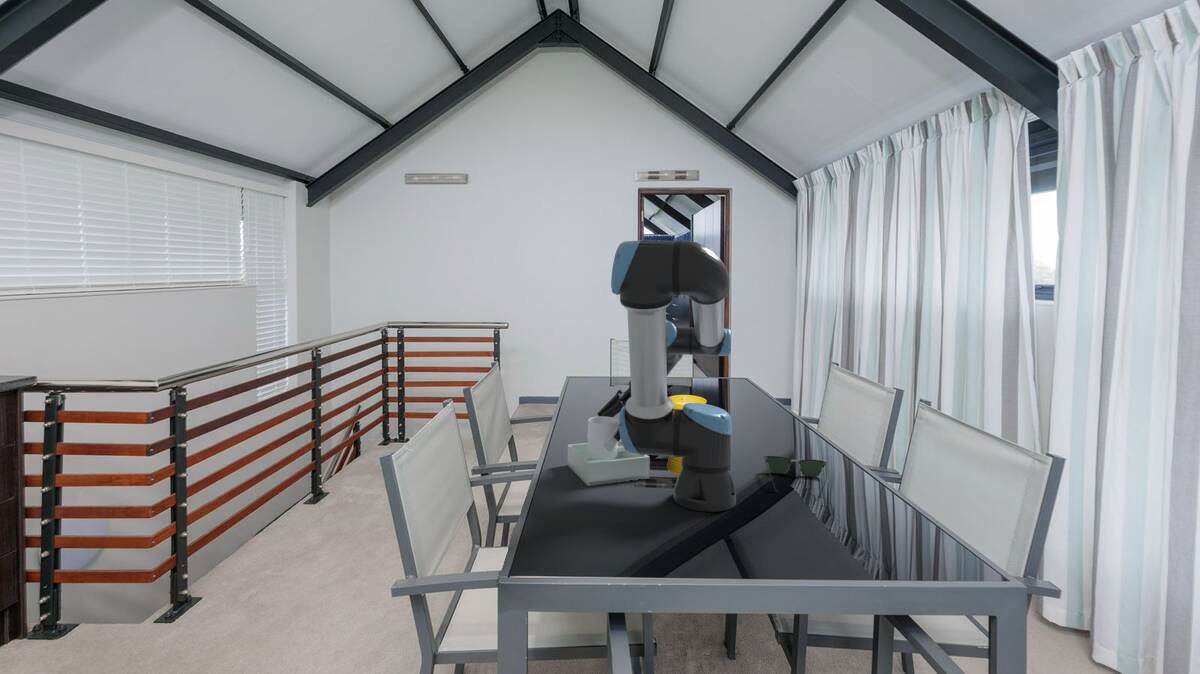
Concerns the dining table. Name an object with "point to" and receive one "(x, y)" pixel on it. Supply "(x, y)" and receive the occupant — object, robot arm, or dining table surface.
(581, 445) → the bin
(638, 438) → the robot arm
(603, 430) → the mug
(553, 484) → the dining table surface
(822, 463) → the sunglasses
